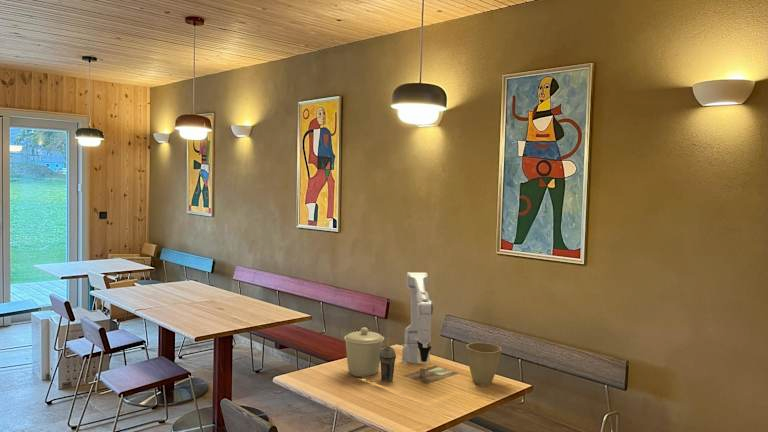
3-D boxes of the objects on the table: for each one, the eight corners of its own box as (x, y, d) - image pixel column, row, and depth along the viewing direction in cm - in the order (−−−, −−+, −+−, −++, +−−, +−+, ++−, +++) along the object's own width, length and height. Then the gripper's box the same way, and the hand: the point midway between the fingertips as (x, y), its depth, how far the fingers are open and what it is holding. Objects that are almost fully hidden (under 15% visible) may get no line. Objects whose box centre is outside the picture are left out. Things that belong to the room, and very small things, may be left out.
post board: (402, 378, 246) (403, 367, 246) (434, 368, 261) (435, 358, 261) (427, 386, 236) (427, 375, 236) (458, 375, 252) (459, 365, 251)
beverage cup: (396, 380, 243) (397, 334, 243) (394, 385, 236) (396, 339, 235) (379, 379, 244) (380, 334, 243) (377, 384, 237) (378, 338, 236)
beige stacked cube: (417, 359, 247) (417, 348, 247) (428, 360, 247) (428, 348, 247) (418, 363, 242) (418, 351, 242) (429, 363, 242) (429, 352, 242)
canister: (340, 368, 258) (342, 323, 257) (379, 366, 261) (380, 322, 260) (345, 381, 240) (347, 333, 239) (386, 379, 244) (388, 332, 243)
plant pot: (461, 385, 239) (462, 349, 238) (470, 375, 252) (471, 340, 252) (495, 391, 233) (497, 354, 232) (503, 381, 246) (504, 345, 245)
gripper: (414, 324, 251) (413, 354, 252) (416, 332, 236) (415, 364, 237) (429, 325, 251) (429, 354, 252) (432, 333, 236) (431, 364, 237)
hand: (423, 359), depth 244 cm, fingers closed on beige stacked cube, 5 cm apart
